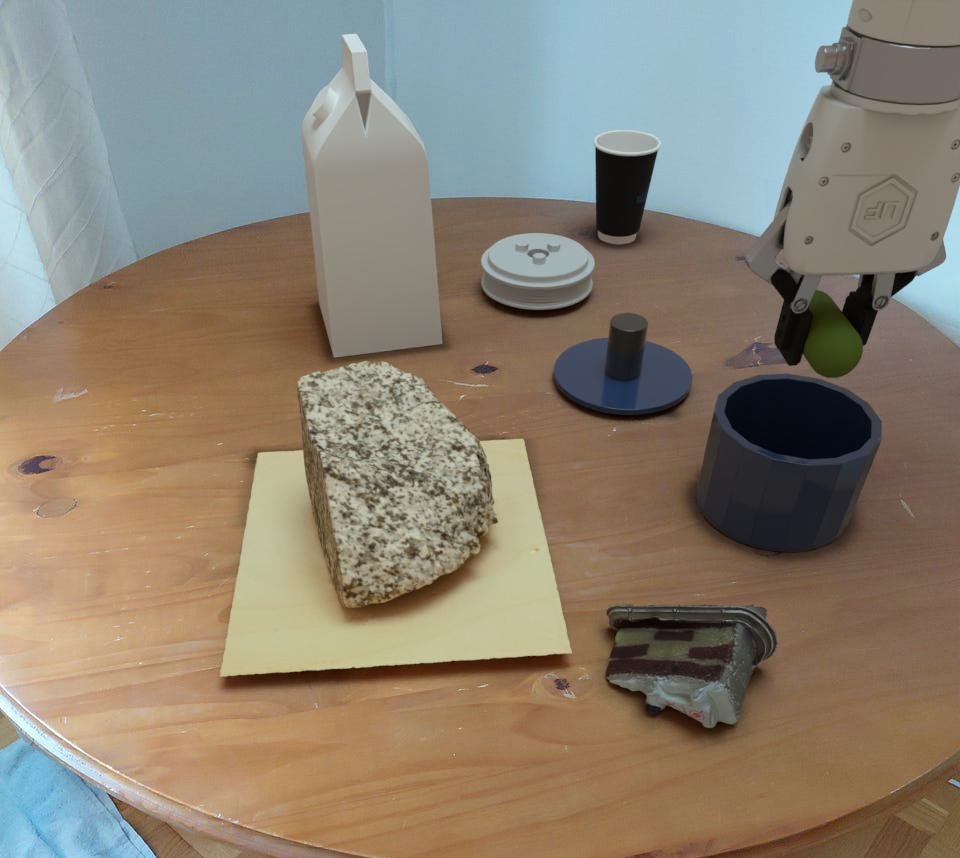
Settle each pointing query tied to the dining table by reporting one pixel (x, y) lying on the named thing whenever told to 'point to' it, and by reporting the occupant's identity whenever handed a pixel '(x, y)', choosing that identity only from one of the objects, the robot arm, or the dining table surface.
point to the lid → (537, 271)
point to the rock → (390, 538)
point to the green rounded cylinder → (831, 339)
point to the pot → (786, 461)
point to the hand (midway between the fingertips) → (816, 352)
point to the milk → (369, 215)
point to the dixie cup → (622, 182)
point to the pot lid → (623, 371)
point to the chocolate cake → (690, 656)
